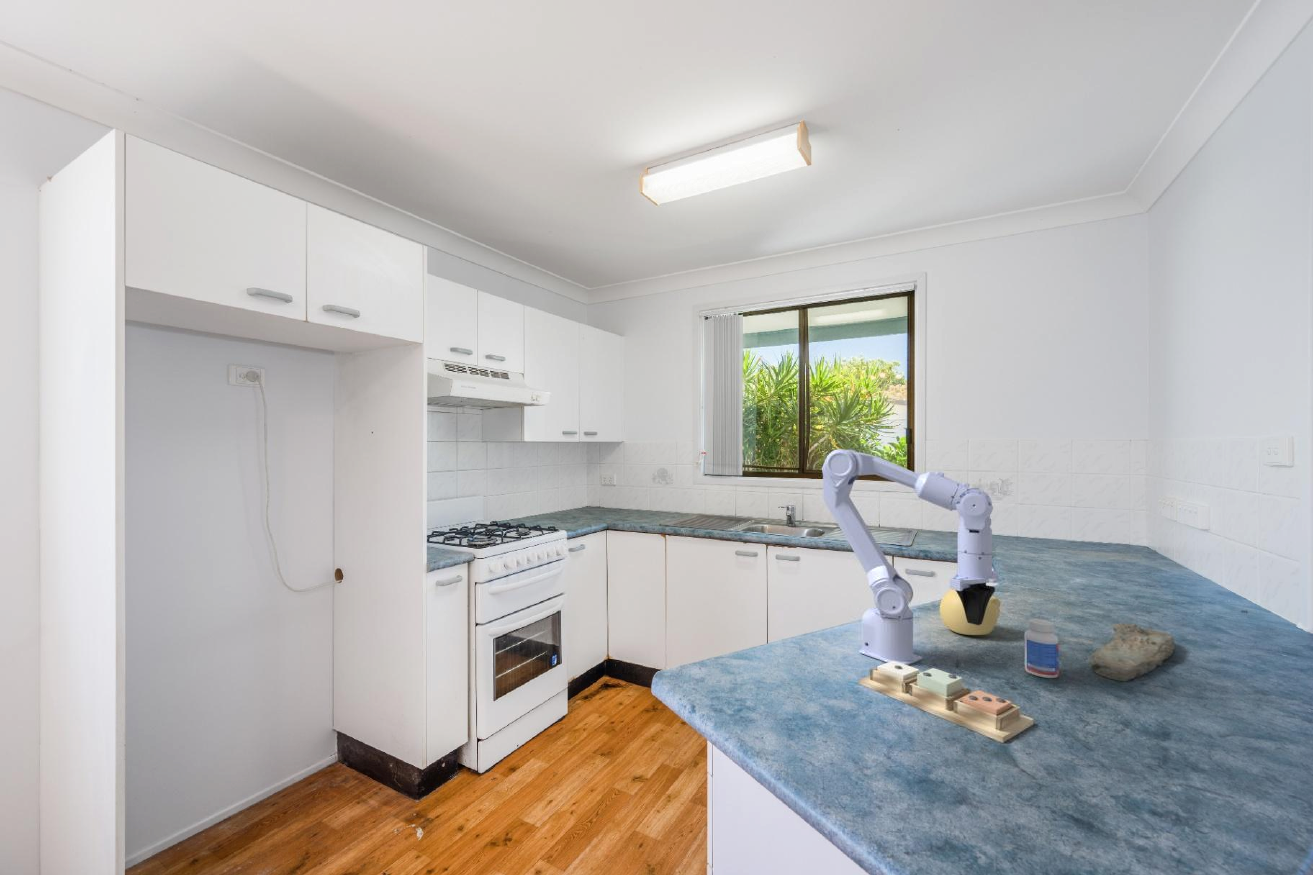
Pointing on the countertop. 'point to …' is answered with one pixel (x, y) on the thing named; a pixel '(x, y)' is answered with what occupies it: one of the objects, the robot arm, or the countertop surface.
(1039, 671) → the pill bottle
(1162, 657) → the long grey stone
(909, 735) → the countertop surface
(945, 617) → the sculpture
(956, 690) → the tile two
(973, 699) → the tile three
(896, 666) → the tile one
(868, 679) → the tile board
